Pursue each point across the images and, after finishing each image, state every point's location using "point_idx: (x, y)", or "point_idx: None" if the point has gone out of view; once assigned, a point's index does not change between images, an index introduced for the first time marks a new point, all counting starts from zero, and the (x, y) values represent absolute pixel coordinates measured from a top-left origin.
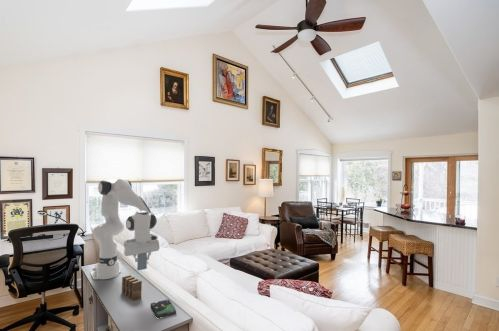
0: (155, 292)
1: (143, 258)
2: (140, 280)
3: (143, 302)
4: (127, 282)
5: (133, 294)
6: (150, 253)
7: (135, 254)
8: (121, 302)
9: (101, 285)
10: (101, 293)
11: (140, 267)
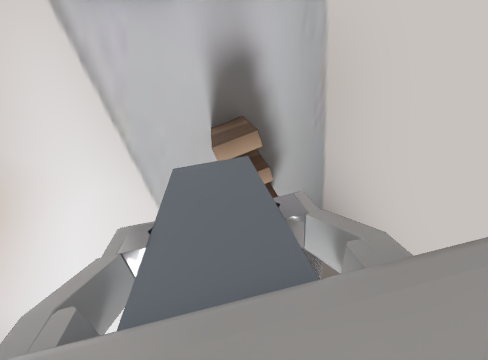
0: (151, 153)
1: (202, 229)
2: (217, 157)
3: (205, 73)
4: (270, 191)
5: (245, 120)
6: (29, 322)
7: (413, 257)
8: (282, 118)
9: (310, 261)
10: None
11: (231, 168)
